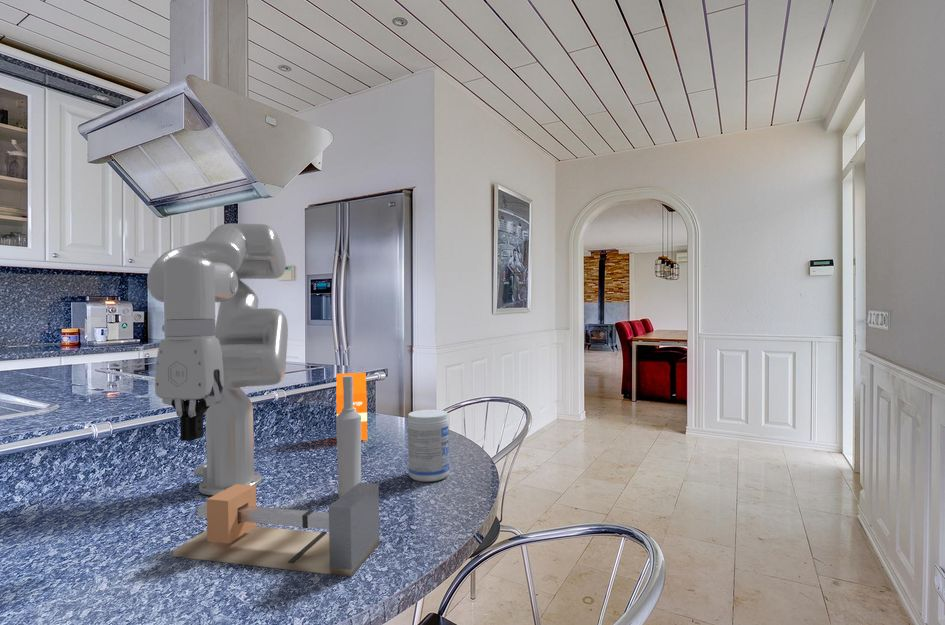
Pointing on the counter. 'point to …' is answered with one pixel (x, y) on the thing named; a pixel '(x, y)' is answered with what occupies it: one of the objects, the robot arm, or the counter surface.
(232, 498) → the tan notched block
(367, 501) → the slider rail assembly
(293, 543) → the base board
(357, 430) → the bottle
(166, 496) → the counter surface
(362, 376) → the orange juice
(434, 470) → the supplement tub
